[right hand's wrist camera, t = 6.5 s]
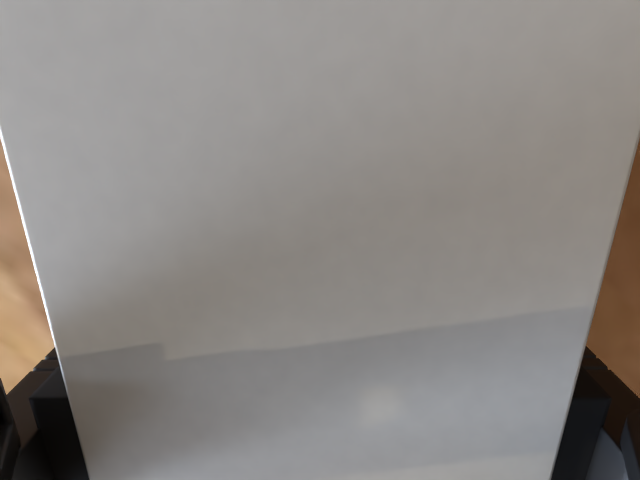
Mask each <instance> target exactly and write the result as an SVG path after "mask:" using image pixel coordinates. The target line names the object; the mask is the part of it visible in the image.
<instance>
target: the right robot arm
mask: <svg viewBox="0 0 640 480" xmlns="http://www.w3.org/2000/svg"><path fill="white" fill-rule="evenodd" d="M0 480H89V476H88V472H87V468H86V464H85V460H84V456H83V453H82V449H81V445H80V441H79V437H78V433H77V430H76V426H75V422H74V418H73V414H72V410H71V406H70V403H69V399H68V395H67V391H66V387H65V383H64V380H63V376H62V372H61V368H60V364H59V360H58V356H57V353H56V349H55V348H54V349H53V350H52V351H51V352H50V353H49V354H48V355H47V356H46V357H45V360H42V361H41V362H40V363H39V364H38V365H36V366H35V367H34V368H33V371H30V372H29V373H28V374H27V375H26V376H25V377H24V378H23V379H22V380H21V381H20V382H19V383H18V384H17V385H16V386H15V387H14V388H13V389H12V390H11V391H10V392H9V393H8V394H7V395H6V393H5V390H4V387H3V384H2V381H1V378H0ZM551 480H640V399H639V398H638V397H637V396H636V395H635V394H634V393H633V392H632V391H631V390H630V389H629V388H628V387H627V386H626V385H625V384H624V383H623V382H622V381H621V380H620V379H619V378H618V377H617V376H616V375H615V374H614V373H613V372H612V371H611V370H608V369H607V366H606V365H605V364H604V363H603V362H602V361H601V360H600V359H599V358H596V355H595V354H594V353H593V352H592V351H591V350H590V349H588V348H587V347H586V346H585V350H584V354H583V358H582V362H581V366H580V369H579V373H578V377H577V381H576V385H575V389H574V393H573V396H572V400H571V404H570V408H569V412H568V416H567V419H566V423H565V427H564V431H563V435H562V439H561V443H560V446H559V450H558V454H557V458H556V462H555V466H554V469H553V473H552V477H551Z"/></svg>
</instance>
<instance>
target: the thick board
mask: <svg viewBox="0 0 640 480" xmlns="http://www.w3.org/2000/svg"><path fill="white" fill-rule="evenodd" d="M0 137H1V141H2V145H3V149H4V153H5V156H6V160H7V164H8V168H9V172H10V176H11V179H12V183H13V187H14V191H15V195H16V199H17V203H18V206H19V210H20V214H21V218H22V222H23V226H24V229H25V233H26V237H27V241H28V245H29V249H30V253H31V256H32V260H33V264H34V268H35V272H36V276H37V280H38V283H39V287H40V291H41V295H42V299H43V303H44V306H45V310H46V314H47V318H48V322H49V326H50V330H51V333H52V337H53V341H54V345H55V349H56V353H57V356H58V360H59V364H60V368H61V372H62V376H63V380H64V383H65V387H66V391H67V395H68V399H69V403H70V406H71V410H72V414H73V418H74V422H75V426H76V430H77V433H78V437H79V441H80V445H81V449H82V453H83V456H84V460H85V464H86V468H87V472H88V476H89V480H551V477H552V473H553V469H554V466H555V462H556V458H557V454H558V450H559V446H560V443H561V439H562V435H563V431H564V427H565V423H566V419H567V416H568V412H569V408H570V404H571V400H572V396H573V393H574V389H575V385H576V381H577V377H578V373H579V369H580V366H581V362H582V358H583V354H584V350H585V346H586V343H587V339H588V335H589V331H590V327H591V323H592V319H593V316H594V312H595V308H596V304H597V300H598V296H599V293H600V289H601V285H602V281H603V277H604V273H605V269H606V266H607V262H608V258H609V254H610V250H611V246H612V242H613V239H614V235H615V231H616V227H617V223H618V219H619V216H620V212H621V208H622V204H623V200H624V196H625V192H626V189H627V185H628V181H629V177H630V173H631V169H632V166H633V162H634V158H635V154H636V150H637V146H638V142H639V139H640V0H0Z"/></svg>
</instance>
